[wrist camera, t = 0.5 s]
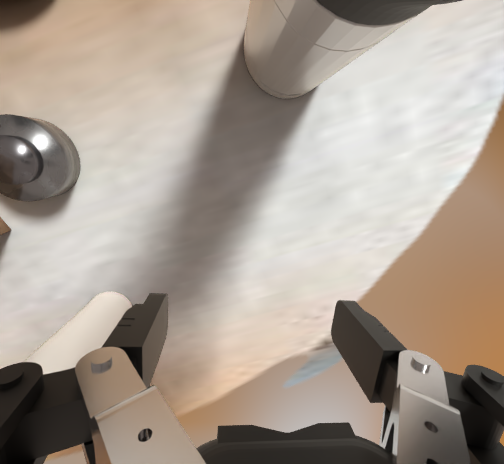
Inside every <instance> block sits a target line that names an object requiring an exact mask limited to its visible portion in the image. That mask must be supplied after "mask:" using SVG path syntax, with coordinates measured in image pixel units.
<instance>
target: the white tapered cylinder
mask: <svg viewBox="0 0 504 464" xmlns="http://www.w3.org/2000/svg"><path fill="white" fill-rule="evenodd" d="M131 307H132V304H131V302H130V301H129V300H128V299H127V298H126V297H125V296H124V295H122V294H120V293H117V292H111V291H108V292H103V293H100V294H98V295H96V296H95V297H94V298H93V299H92V300H91V301H90V302H89V303H88V304H87V305H86V306H85V307H84V308H83V309H82V310H81V311H79V312H78V313H77V314H76V315H75V316H74V317H73V318H72V319H71V320H69V321H68V322H67V323H66V324H65V325H64V326H63V327H62V328H60V329H59V330H58V331H57V332H56V333H55V334H54V335H52V336H51V337H50V338H49V339H48V340H47V341H46V342H45V343H43V344H42V345H41V346H40V347H39V348H38V349H37V350H36V351H35V352H33V353H32V354H31V355H30V356H29V357H28V358H27V359H26V360H25V361H24V362H34V363H37V364H39V365H41V367H42V370H43V375H44V374H49V373H53V372H58V371H63V370H67V369H71V368H74V367H76V364H77V363H78V361H79V360H80V359H81V358H82V357H83V356H85V355H86V354H88V353H89V352H91V351H94V350H96V349H99V348H101V347H102V346H103V344H104V343H105V341H106V340H107V339H108V337H109V336H110V334H111V333H112V331H113V330H114V328H115V327H116V326H117V324H118V322H119V321H120V320H121V318H122V316H123V315H124V313H125V312H126V310H128V309H129V308H131Z"/></svg>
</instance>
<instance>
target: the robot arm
mask: <svg viewBox="0 0 504 464" xmlns="http://www.w3.org/2000/svg"><path fill="white" fill-rule="evenodd" d="M457 1H462V0H250V5H249V12H248V17H247V23H246V29H245V36H244V56H245V62H246V65H247V68H248V71H249V73H250V75H251V76H252V78H253V80H254V81H255V82H256V83H257V85H258V86H259V87H260V88H261V89H263V90H264V91H265V92H267V93H268V94H270V95H273V96H275V97H279V98H284V99H287V98H296V97H299V96H302V95H304V94H306V93H308V92H309V91H311V90H312V89H314V88H315V87H317V86H318V85H319V84H321V83H323V82H324V81H325V80H327V79H328V78H330V77H331V76H332V75H334V74H335V73H337V72H338V71H339V70H341V69H342V68H344V67H345V66H347V65H348V64H349V63H351V62H352V61H354V60H355V59H356V58H358V57H359V56H361V55H362V54H363V53H365V52H366V51H368V50H369V49H370V48H372V47H373V46H375V45H376V44H377V43H379V42H380V41H382V40H383V39H385V38H386V37H387V36H389V35H390V34H392V33H393V32H394V31H395V30H397V29H398V28H400V27H401V26H403V25H404V24H405V23H407V22H408V21H410V20H411V19H412V18H414V17H415V16H417V15H418V14H420V13H421V12H423V11H424V10H426V9H427V8H429V7H430V6H432V5H437V4H446V3H452V2H457ZM167 328H168V294H159V293H150V294H149V296H148V297H147V299H146V301H145V302H144V304H135V305H134V306H132V307H131V308H129V309H128V310H126V312H125V313H124V315H123V316H122V318H121V320H120V321H119V322H118V324H117V326H116V327H115V328H114V330H113V331H112V333H111V334H110V336H109V337H108V339H107V340H106V341H105V343H104V344H103V346H102V347H101V348H99V349H96V350H94V351H91V352H89V353H88V354H86V355H85V356H83V357H82V358H81V359H80V360H79V361H78V363H77V364H76V367H74V368H71V369H67V370H63V371H58V372H53V373H49V374H44V375H43V370H42V367H41V365H39V364H37V363H34V362H22V363H17V364H13V365H10V366H7V367H4V368H2V369H0V464H43V463H44V461H45V459H46V457H47V456H48V455H49V454H52V453H55V452H58V451H61V450H64V449H67V448H70V447H73V446H76V445H79V444H82V448H83V451H84V455H85V459H86V462H87V464H504V446H503V445H502V444H501V443H500V442H499V441H500V438H501V436H502V434H503V431H504V376H502V375H501V374H499V373H497V372H495V371H493V370H491V369H488V368H485V367H482V366H478V365H468V366H467V367H466V369H465V372H464V375H463V376H462V375H457V374H453V373H449V372H444V371H443V369H442V368H441V366H440V365H439V364H438V363H437V362H436V361H434V360H433V359H431V358H430V357H428V356H426V355H424V354H422V353H419V352H416V351H411V350H407V349H406V348H405V347H404V346H403V345H402V344H401V343H400V342H399V341H398V340H397V339H396V338H395V337H394V336H393V335H392V334H391V333H389V331H388V330H387V329H386V328H385V327H384V326H383V325H382V324H381V323H380V322H379V321H378V320H377V319H376V318H375V317H374V316H372V315H370V314H369V313H367V312H365V311H364V310H363V309H362V308H361V307H360V306H359V305H358V304H357V303H356V302H355V301H343V300H339V301H338V302H337V303H336V307H335V313H334V318H333V323H332V328H331V335H332V340H333V342H334V344H335V346H336V347H337V349H338V351H339V352H340V354H341V355H342V357H343V359H344V360H345V362H346V363H347V365H348V367H349V369H350V370H351V372H352V373H353V375H354V377H355V378H356V380H357V382H358V383H359V385H360V387H361V388H362V390H363V391H364V393H365V395H366V396H367V398H368V400H369V401H370V403H375V402H376V403H382V402H383V403H384V404H385V408H384V412H383V419H382V427H381V436H380V444H379V445H377V444H375V443H374V442H372V441H369V440H367V439H364V438H362V437H359V436H355V434H354V432H353V430H352V428H351V426H350V424H349V423H318V424H315V425H312V426H309V427H306V428H303V429H300V430H297V431H294V432H290V433H284V432H280V431H275V430H271V429H266V428H262V427H258V426H254V425H233V426H218V434H217V439H215V440H212V441H209V442H207V443H205V444H203V445H201V446H200V447H198V448H196V447H195V446H194V444H193V443H192V441H191V439H190V438H189V437H188V435H187V433H186V432H185V430H184V429H183V427H182V425H181V424H180V422H179V421H178V419H177V418H176V416H175V415H174V413H173V411H172V410H171V408H170V407H169V405H168V404H167V402H166V400H165V399H164V397H163V396H162V394H161V393H160V391H159V390H158V388H157V387H156V386H154V385H152V386H150V383H151V380H152V377H153V374H154V371H155V368H156V366H157V363H158V360H159V357H160V354H161V351H162V348H163V345H164V342H165V339H166V335H167ZM149 386H150V387H149Z"/></svg>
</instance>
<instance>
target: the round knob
mask: <svg viewBox="0 0 504 464" xmlns="http://www.w3.org/2000/svg"><path fill="white" fill-rule="evenodd" d="M79 173H80V158H79V155H78V152H77V149H76V147H75V146H74V144H73V142H72V141H71V139H70V138H69V137H68V136H67V135H66V134H65V133H64V132H63V131H62V130H61V129H59V128H58V127H56V126H55V125H53V124H51V123H49V122H47V121H43V120H40V119H35V118H28V117H22V116H16V115H7V114H5V115H0V193H1V194H3V195H5V196H7V197H10V198H12V199H16V200H21V201H37V200H41V199H45V198H48V197H52V196H56V195H59V194H62V193H64V192H66V191H68V190H69V189H70V188H72V186H73V185H74V184H75V183H76V181H77V179H78V177H79Z"/></svg>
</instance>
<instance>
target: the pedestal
mask: <svg viewBox="0 0 504 464" xmlns="http://www.w3.org/2000/svg"><path fill="white" fill-rule="evenodd" d="M10 230H11V229H10V228H9V227H8V226H7V224H6V223H5V222H4V221H3V220H2V219H1V217H0V236H1V235H3V234H5V233H7V232H9V231H10Z"/></svg>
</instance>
